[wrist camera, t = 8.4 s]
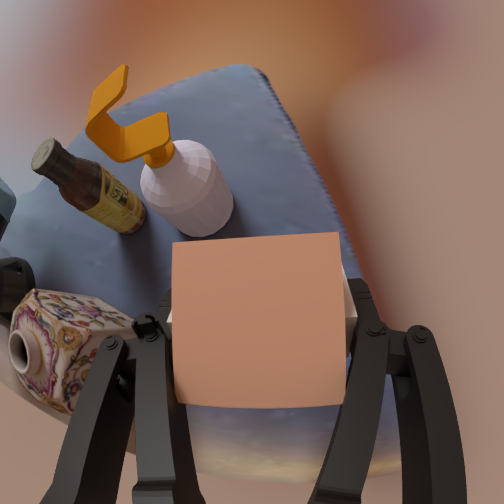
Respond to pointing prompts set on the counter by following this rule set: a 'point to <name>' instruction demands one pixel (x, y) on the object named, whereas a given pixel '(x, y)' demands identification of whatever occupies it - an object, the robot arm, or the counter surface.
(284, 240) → the peach block
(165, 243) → the counter surface
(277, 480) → the counter surface
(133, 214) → the sauce bottle
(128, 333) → the decorative jar
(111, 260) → the counter surface
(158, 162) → the soap bottle
